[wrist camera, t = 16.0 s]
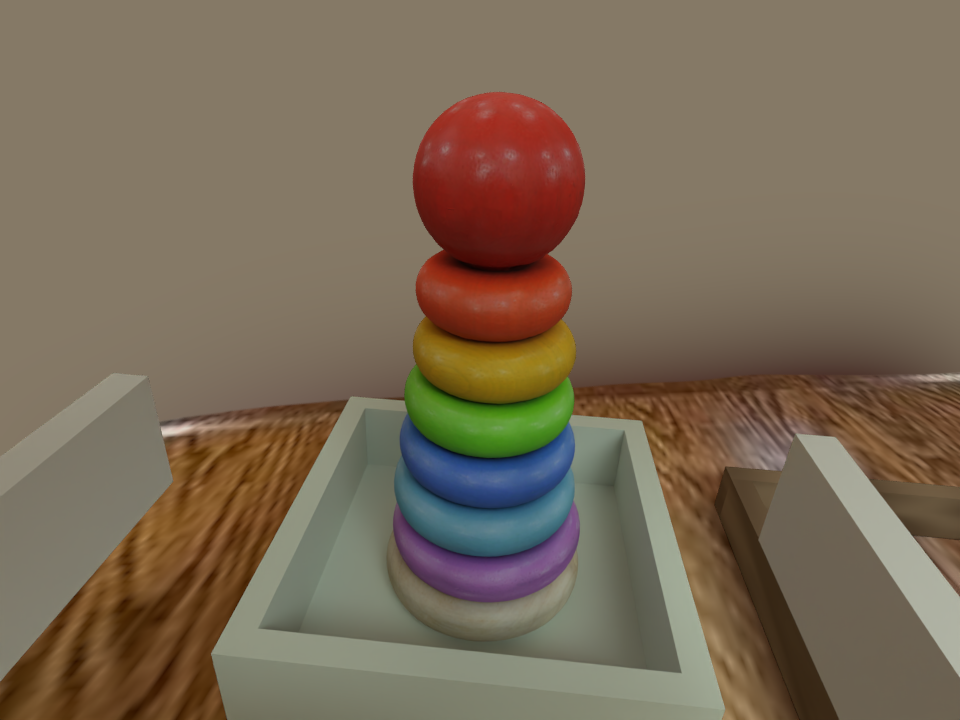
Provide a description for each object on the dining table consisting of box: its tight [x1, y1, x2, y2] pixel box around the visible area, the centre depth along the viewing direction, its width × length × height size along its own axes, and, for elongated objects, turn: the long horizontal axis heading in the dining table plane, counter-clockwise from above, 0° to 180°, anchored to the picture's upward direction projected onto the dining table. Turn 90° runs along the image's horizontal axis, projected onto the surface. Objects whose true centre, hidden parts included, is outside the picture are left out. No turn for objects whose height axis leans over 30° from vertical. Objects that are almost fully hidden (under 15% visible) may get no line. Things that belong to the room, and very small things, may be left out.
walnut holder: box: [715, 467, 960, 720], centre depth 24 cm, size 14×14×2 cm
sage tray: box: [211, 396, 725, 720], centre depth 25 cm, size 15×15×4 cm
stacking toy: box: [386, 92, 585, 641], centre depth 21 cm, size 8×8×19 cm
